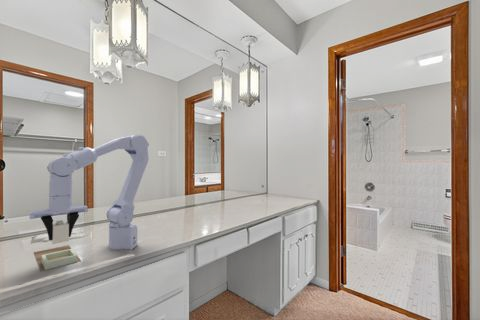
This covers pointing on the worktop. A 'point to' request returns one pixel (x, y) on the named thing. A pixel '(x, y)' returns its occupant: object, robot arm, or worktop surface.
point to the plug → (60, 232)
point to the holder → (59, 258)
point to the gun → (45, 238)
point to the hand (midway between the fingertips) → (59, 237)
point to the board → (39, 253)
